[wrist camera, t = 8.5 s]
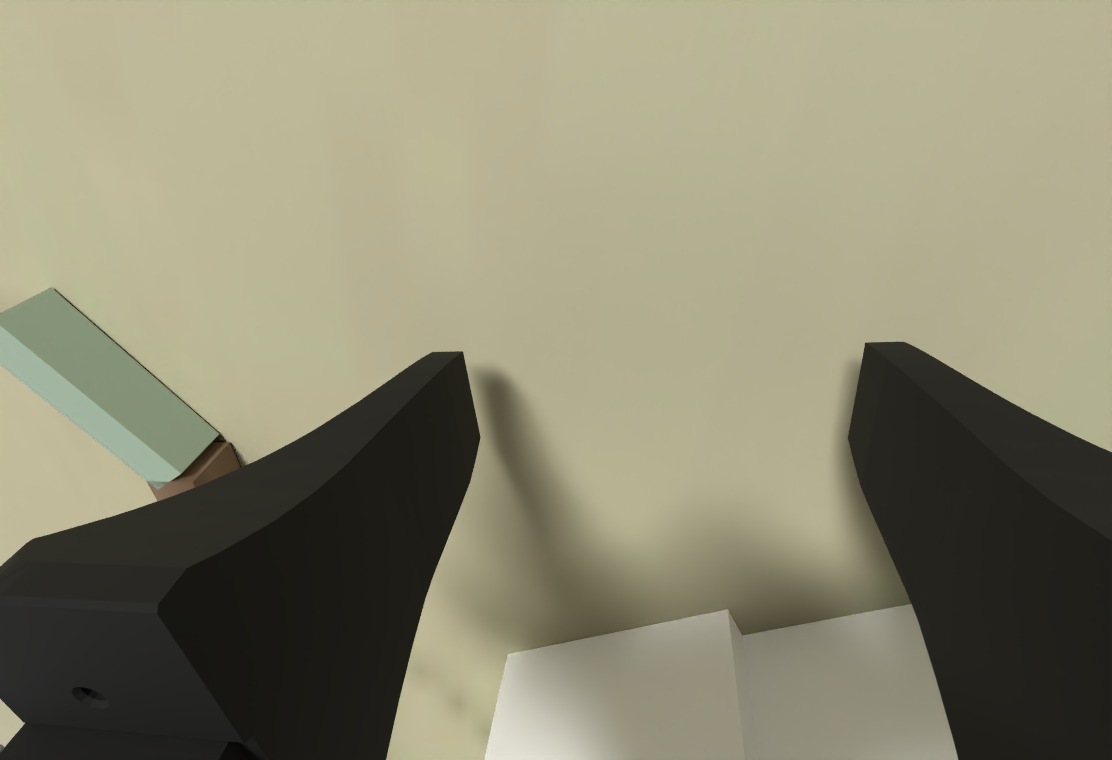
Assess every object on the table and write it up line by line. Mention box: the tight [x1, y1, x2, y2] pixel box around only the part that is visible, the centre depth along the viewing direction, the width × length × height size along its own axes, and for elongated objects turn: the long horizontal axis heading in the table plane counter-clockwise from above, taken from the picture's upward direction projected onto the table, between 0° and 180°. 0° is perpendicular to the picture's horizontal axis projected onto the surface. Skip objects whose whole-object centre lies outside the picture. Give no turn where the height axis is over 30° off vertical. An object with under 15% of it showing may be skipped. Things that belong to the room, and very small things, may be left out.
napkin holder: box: [484, 604, 958, 760], centre depth 16 cm, size 15×11×6 cm
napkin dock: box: [0, 288, 241, 501], centre depth 17 cm, size 28×24×2 cm
